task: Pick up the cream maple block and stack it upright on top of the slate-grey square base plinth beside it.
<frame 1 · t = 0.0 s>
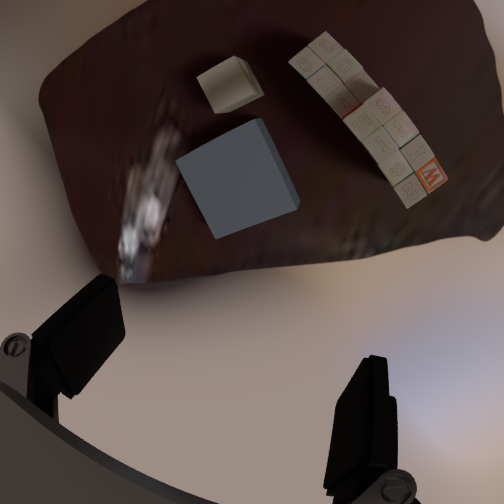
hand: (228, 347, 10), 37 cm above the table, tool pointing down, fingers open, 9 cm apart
stack of blocks: (362, 113, 37), on the table
slate base plinth: (241, 176, 46), on the table
cream block: (238, 86, 40), on the table
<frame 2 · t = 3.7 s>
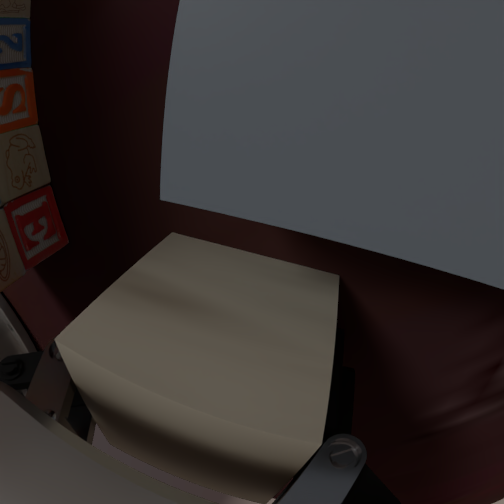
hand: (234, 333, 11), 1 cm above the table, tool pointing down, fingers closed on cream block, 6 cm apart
stack of blocks: (8, 67, 9), on the table
slate base plinth: (488, 13, 4), on the table
cream block: (241, 319, 12), on the table, touching gripper
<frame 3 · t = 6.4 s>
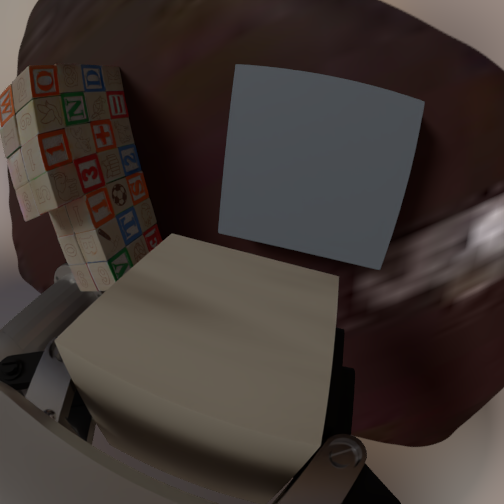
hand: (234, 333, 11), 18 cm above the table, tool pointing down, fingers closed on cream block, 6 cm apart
stack of blocks: (120, 162, 30), on the table
slate base plinth: (318, 159, 25), on the table
cream block: (241, 319, 12), point 17 cm above the table, touching gripper
when the fingers open (6 cm above the table, at t = 9.3 s): cream block drops 1 cm, resting on slate base plinth.
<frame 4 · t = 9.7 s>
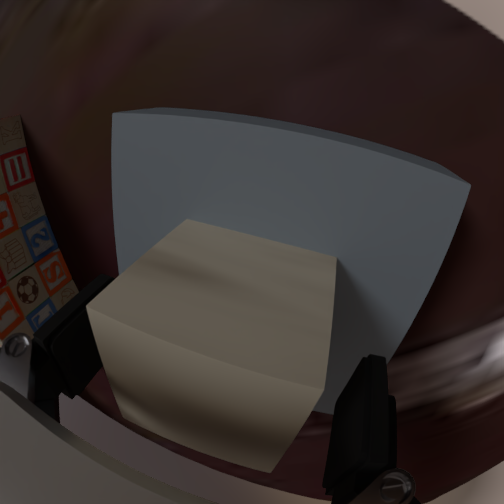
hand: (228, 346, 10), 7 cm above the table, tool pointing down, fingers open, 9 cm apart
stack of blocks: (39, 233, 22), on the table
slate base plinth: (271, 255, 16), on the table
cream block: (248, 299, 13), point 4 cm above the table, touching slate base plinth
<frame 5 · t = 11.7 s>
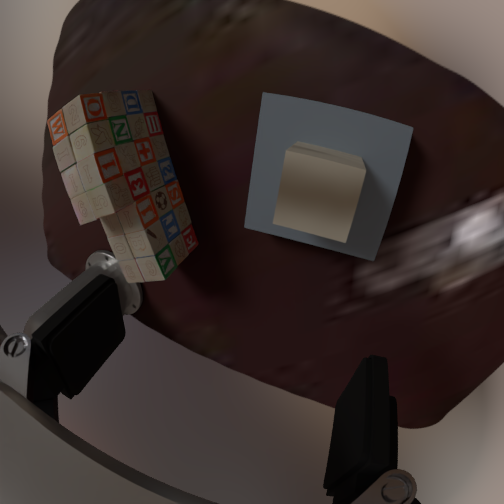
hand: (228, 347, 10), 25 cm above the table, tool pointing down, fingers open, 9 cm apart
stack of blocks: (156, 172, 37), on the table
slate base plinth: (326, 170, 30), on the table
cream block: (323, 179, 27), point 4 cm above the table, touching slate base plinth
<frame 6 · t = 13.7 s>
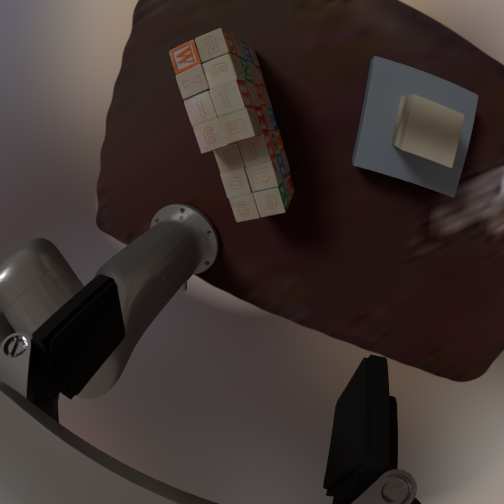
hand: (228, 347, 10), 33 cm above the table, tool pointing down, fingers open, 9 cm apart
stack of blocks: (255, 123, 38), on the table
slate base plinth: (412, 125, 32), on the table
cream block: (419, 127, 29), point 4 cm above the table, touching slate base plinth
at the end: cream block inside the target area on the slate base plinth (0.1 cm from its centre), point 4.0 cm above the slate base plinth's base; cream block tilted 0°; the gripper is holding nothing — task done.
